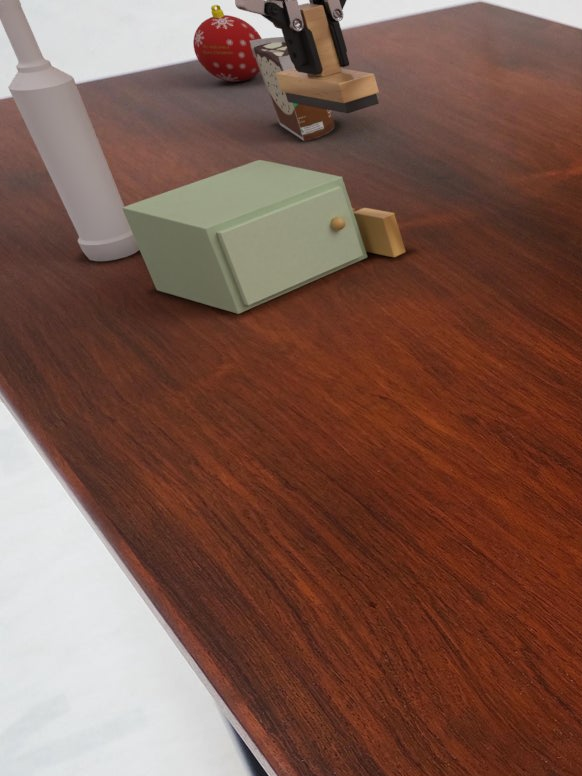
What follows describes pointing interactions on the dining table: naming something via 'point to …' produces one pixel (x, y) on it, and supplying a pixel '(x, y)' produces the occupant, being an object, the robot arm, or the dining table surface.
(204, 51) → the christmas ornament
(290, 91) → the brush
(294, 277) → the cabinet
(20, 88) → the bottle
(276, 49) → the food container
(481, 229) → the dining table surface
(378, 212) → the cork chip
